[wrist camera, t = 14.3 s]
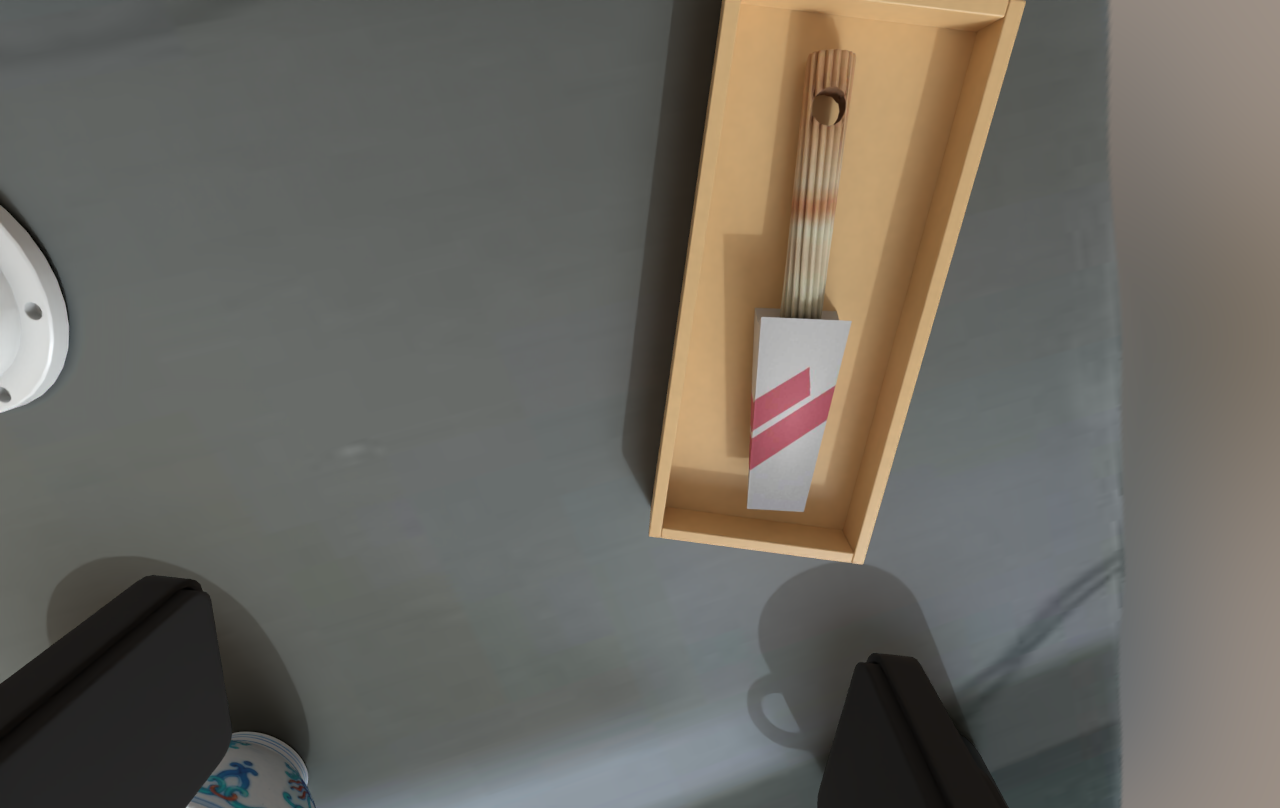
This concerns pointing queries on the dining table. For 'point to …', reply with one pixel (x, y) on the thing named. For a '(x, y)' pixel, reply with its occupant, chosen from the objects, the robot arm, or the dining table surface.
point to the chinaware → (256, 776)
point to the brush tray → (859, 254)
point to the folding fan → (801, 309)
